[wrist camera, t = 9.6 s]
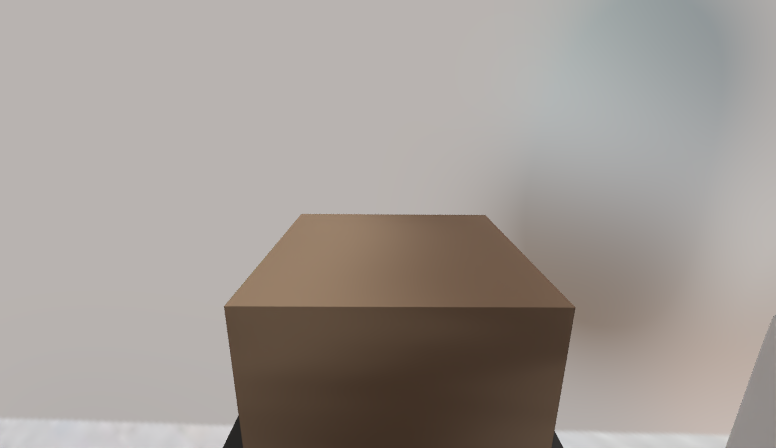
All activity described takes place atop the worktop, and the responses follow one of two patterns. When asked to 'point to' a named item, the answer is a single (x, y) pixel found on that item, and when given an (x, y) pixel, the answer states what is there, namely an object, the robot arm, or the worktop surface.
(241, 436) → the robot arm
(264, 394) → the walnut block
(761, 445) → the milk carton
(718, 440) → the worktop surface
